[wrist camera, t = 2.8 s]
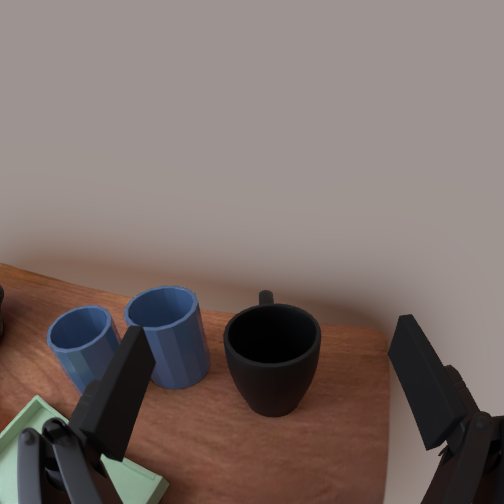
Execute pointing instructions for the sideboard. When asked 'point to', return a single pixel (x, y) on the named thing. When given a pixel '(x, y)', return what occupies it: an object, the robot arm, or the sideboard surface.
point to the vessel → (0, 298)
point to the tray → (121, 473)
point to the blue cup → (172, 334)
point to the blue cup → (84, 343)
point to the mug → (272, 354)
